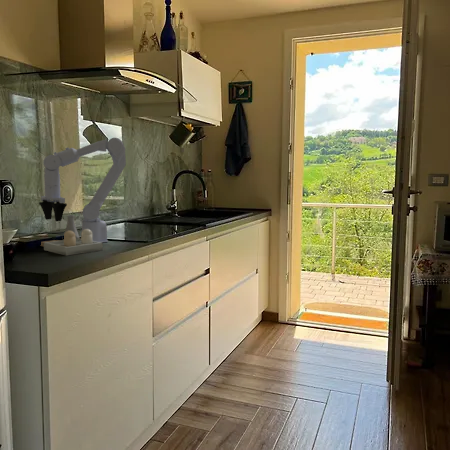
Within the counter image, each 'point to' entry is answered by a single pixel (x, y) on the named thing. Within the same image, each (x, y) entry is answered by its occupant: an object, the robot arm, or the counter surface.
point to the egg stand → (47, 241)
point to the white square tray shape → (82, 245)
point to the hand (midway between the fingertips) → (53, 220)
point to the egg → (69, 239)
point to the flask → (71, 225)
